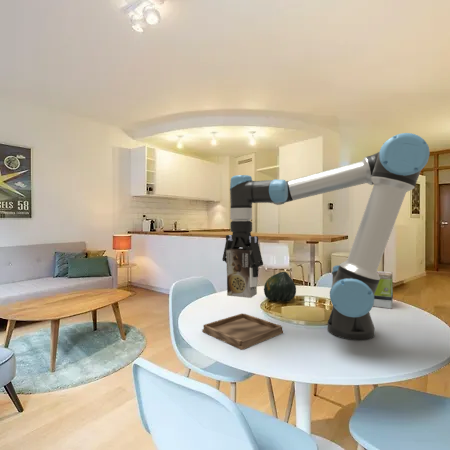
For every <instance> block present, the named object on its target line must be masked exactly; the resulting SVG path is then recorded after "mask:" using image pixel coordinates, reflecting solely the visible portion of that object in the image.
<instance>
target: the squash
mask: <svg viewBox="0 0 450 450" xmlns="http://www.w3.org/2000/svg"><path fill="white" fill-rule="evenodd" d="M263 292H264V293H263V294H264V296H265V298H267V300H269V299H270V301H271V300H273V301H272V302H275V301H277V302H280V301H281V302H284V303H289V302H291V301H293V299H294V298H295V296H296V295H297V286H296V284H295V281H294V280H293V279H292V277H291V276H290V275H289V273H288V272H286V271H280V272H278V273H276V274H273V275H270V277H269V278H268V279H267V280H266V282H265V283H264V286H263Z"/></svg>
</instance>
